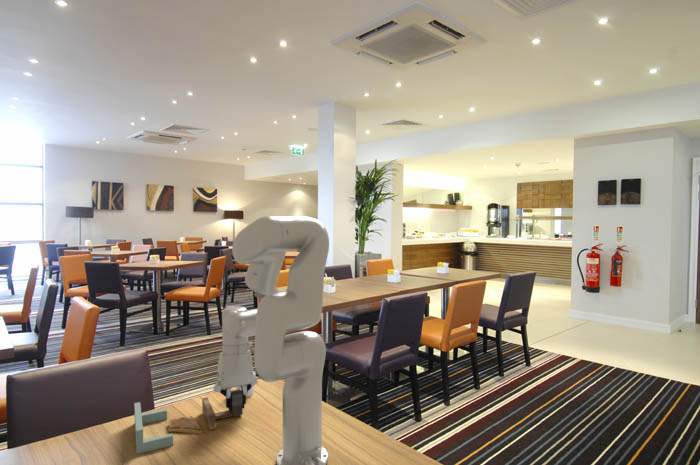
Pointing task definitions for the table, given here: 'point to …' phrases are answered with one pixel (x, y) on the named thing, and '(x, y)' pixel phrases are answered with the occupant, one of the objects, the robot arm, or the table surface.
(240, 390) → the shot glass
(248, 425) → the table surface
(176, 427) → the shard
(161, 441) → the bracket
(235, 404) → the wall doorstop
